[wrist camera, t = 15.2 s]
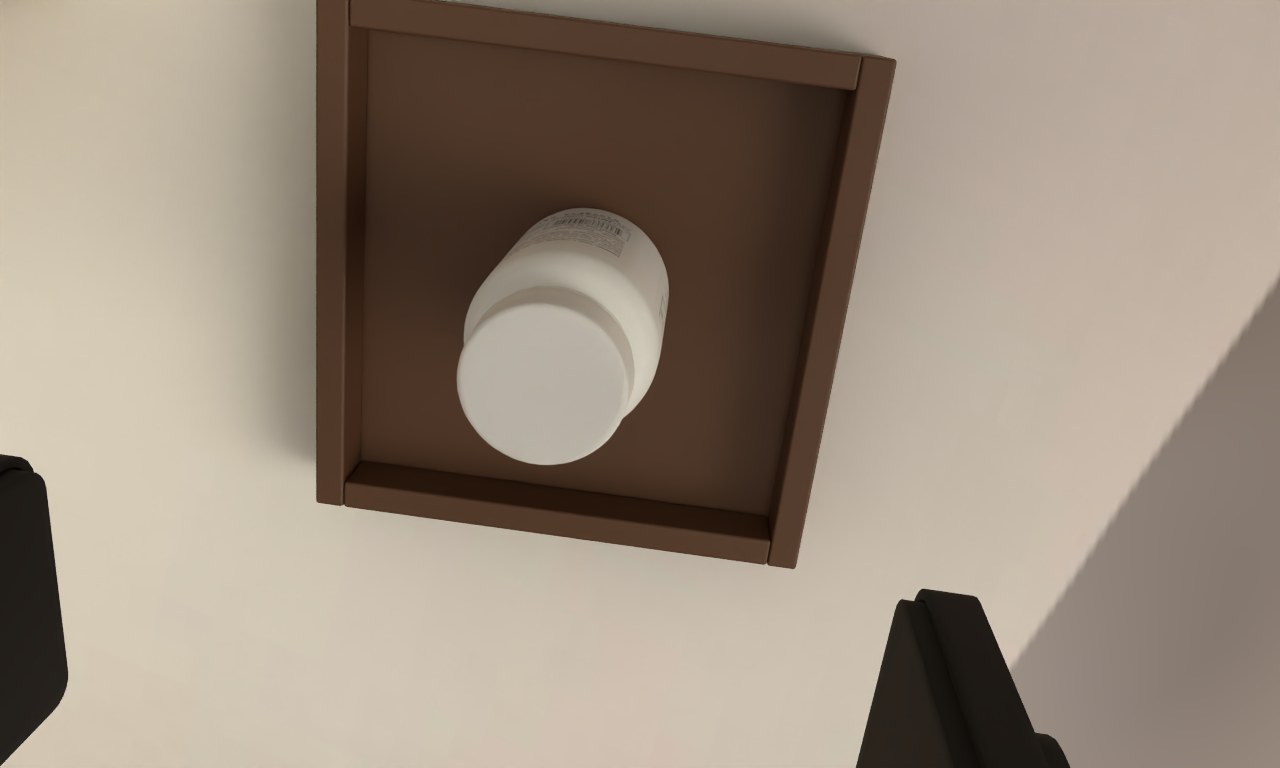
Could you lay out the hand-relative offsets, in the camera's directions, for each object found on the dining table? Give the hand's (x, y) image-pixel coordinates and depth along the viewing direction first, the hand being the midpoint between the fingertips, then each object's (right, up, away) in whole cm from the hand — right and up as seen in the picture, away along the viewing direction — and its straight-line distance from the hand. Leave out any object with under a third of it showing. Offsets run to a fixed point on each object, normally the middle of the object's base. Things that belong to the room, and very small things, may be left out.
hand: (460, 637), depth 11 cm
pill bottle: (+1, +5, +16) cm, 17 cm away
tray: (0, +5, +16) cm, 17 cm away
